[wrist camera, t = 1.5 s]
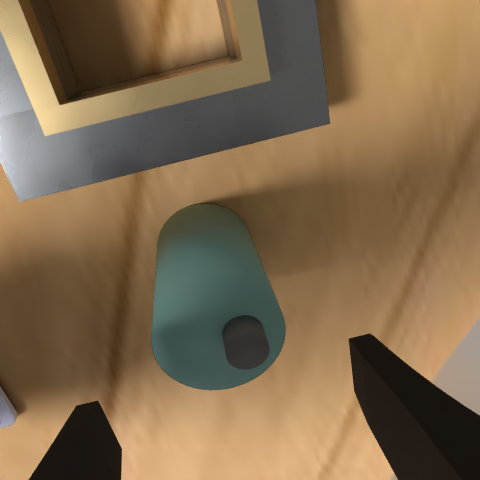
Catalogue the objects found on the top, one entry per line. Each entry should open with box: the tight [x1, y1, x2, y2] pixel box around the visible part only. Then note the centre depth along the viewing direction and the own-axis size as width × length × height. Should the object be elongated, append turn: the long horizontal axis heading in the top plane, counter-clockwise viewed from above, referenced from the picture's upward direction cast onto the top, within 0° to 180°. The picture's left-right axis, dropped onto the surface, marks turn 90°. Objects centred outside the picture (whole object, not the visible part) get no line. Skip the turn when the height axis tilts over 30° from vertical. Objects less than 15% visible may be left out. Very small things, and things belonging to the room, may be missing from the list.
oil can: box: [151, 203, 286, 390], centre depth 17 cm, size 4×4×8 cm
